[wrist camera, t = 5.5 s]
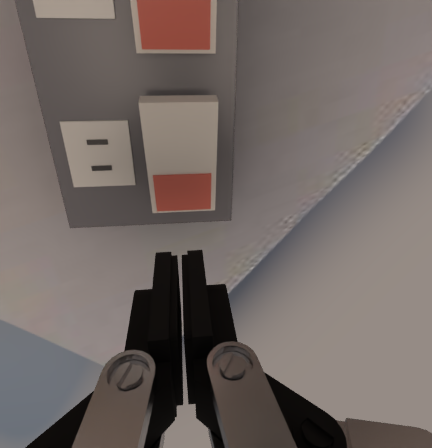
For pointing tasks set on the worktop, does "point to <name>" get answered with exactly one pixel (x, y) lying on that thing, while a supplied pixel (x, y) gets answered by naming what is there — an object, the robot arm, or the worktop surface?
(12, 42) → the worktop surface
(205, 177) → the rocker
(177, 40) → the rocker middle
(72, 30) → the rocker switch panel
